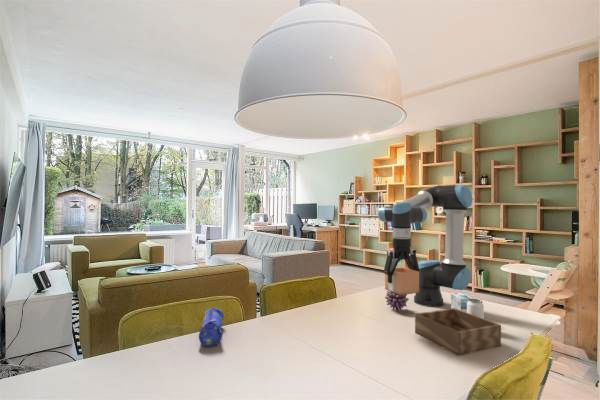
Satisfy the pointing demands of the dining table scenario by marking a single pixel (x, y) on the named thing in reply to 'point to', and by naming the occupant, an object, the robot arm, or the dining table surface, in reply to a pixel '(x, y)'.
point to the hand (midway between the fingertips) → (401, 289)
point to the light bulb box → (459, 301)
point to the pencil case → (211, 327)
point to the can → (475, 307)
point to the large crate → (458, 331)
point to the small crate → (404, 281)
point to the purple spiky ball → (396, 300)
